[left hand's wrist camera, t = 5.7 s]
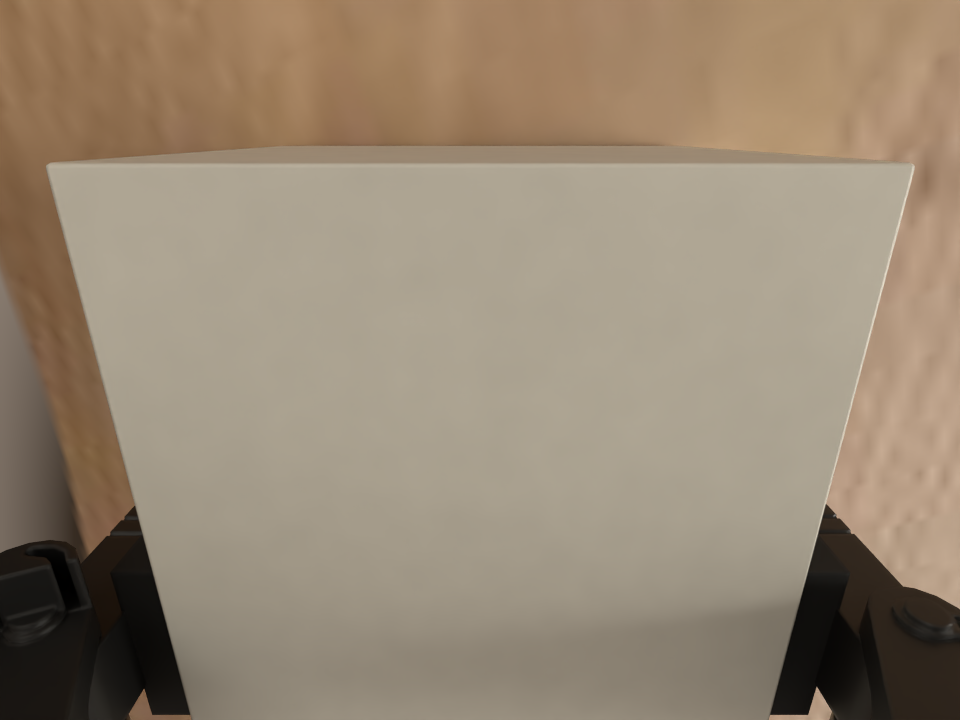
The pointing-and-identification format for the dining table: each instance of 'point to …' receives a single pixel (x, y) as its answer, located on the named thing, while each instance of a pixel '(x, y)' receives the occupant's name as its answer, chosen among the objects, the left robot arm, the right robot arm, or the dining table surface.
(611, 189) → the wide beam
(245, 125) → the dining table surface
